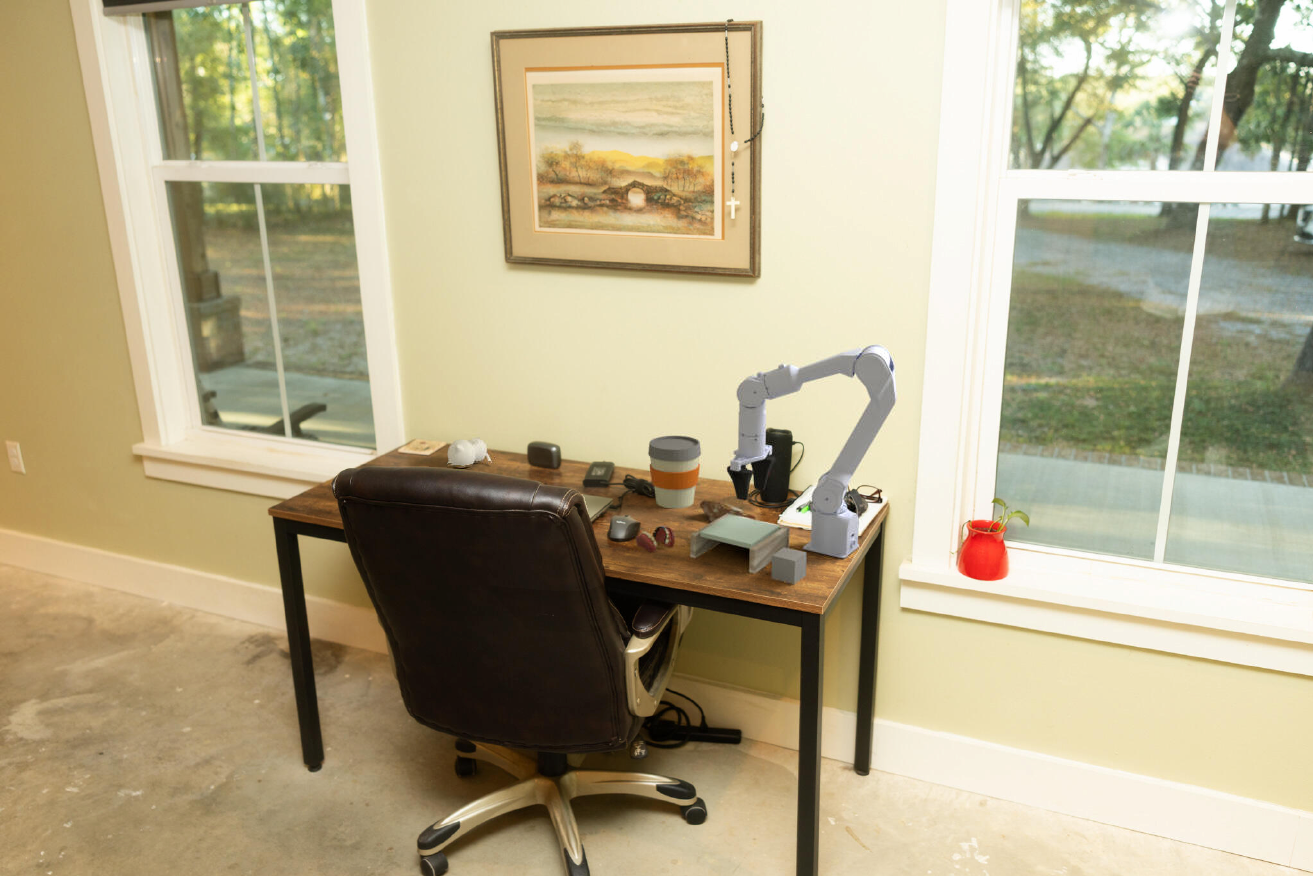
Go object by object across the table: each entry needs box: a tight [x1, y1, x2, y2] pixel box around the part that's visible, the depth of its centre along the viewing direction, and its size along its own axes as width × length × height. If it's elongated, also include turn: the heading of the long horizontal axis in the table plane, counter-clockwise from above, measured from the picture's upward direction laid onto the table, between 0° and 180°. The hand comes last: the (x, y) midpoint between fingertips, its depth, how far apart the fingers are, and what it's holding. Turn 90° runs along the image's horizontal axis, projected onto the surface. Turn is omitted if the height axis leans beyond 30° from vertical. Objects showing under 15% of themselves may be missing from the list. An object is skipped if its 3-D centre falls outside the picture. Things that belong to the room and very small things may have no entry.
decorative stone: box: [699, 498, 758, 523], centre depth 219 cm, size 10×4×15 cm
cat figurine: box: [447, 437, 492, 466], centre depth 260 cm, size 9×11×12 cm
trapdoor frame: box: [689, 514, 791, 574], centre depth 201 cm, size 15×15×5 cm
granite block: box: [771, 547, 808, 585], centre depth 189 cm, size 5×5×5 cm
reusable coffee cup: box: [647, 435, 702, 509], centre depth 230 cm, size 13×13×15 cm
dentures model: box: [635, 525, 676, 553], centre depth 205 cm, size 6×4×8 cm
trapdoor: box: [700, 515, 779, 550], centre depth 200 cm, size 12×12×1 cm
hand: (750, 494), depth 206 cm, fingers open, 7 cm apart
